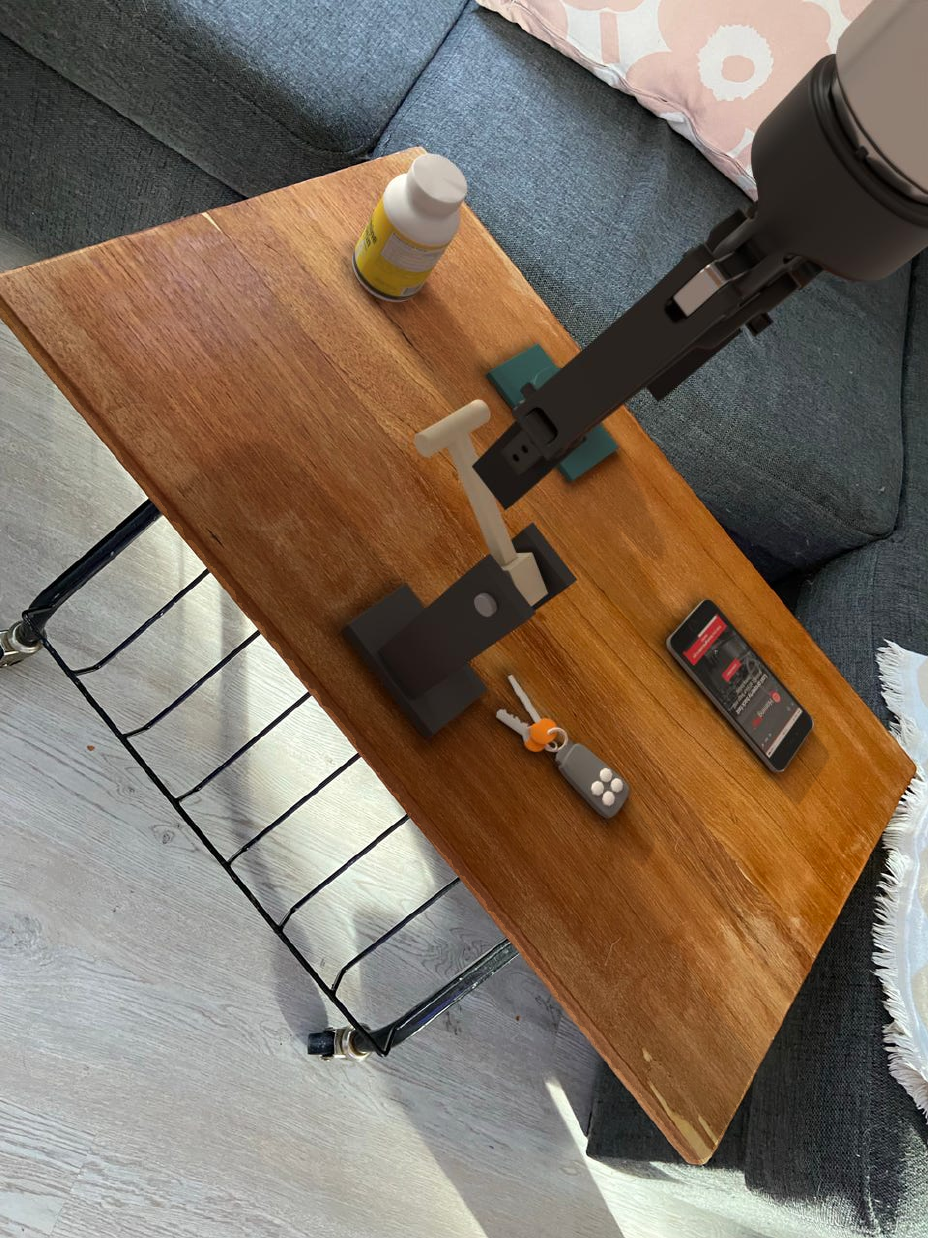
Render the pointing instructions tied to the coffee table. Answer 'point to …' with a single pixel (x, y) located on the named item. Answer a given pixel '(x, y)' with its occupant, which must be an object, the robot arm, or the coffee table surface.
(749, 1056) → the coffee table surface
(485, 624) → the lever switch stand
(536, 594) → the switch lever
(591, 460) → the teal button base
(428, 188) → the pill bottle
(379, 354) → the coffee table surface
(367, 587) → the coffee table surface
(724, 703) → the smartphone
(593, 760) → the key chain
